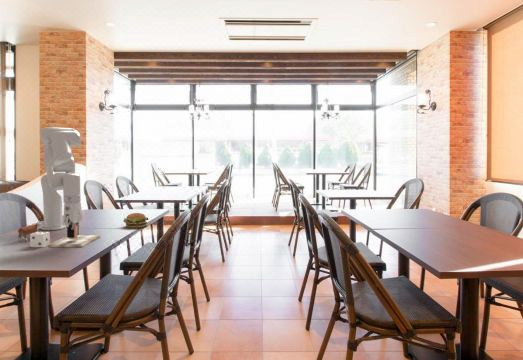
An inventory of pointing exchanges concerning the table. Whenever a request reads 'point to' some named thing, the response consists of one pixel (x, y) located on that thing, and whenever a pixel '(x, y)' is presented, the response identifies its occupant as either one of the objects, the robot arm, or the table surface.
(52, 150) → the robot arm
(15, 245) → the table surface
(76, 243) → the game board
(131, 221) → the food
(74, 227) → the peach rounded cylinder
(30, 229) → the bull figurine
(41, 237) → the die
